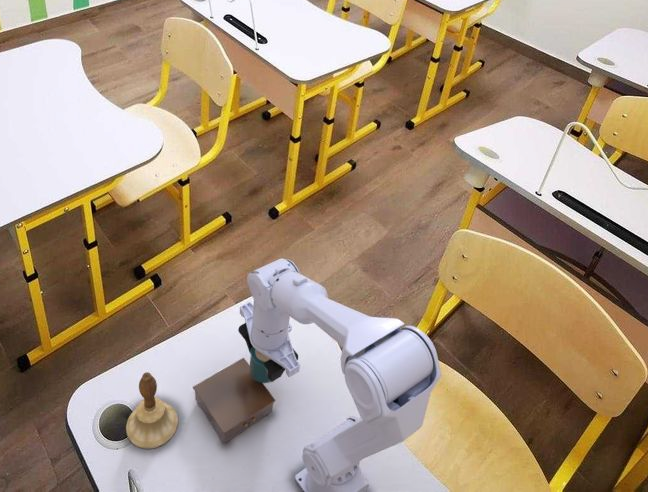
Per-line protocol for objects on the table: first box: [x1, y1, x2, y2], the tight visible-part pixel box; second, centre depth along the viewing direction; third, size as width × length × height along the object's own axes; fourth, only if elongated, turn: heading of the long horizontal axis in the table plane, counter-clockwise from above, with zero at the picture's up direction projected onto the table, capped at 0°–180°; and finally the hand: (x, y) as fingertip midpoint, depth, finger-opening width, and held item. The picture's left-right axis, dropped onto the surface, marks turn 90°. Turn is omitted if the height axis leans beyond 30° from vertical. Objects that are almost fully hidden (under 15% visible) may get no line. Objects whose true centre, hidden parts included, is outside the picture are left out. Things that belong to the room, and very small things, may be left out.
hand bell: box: [125, 371, 179, 450], centre depth 92 cm, size 8×8×16 cm
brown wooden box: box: [192, 357, 276, 444], centre depth 100 cm, size 10×10×5 cm
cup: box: [249, 346, 272, 384], centre depth 99 cm, size 5×7×6 cm
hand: (265, 364), depth 100 cm, fingers closed on cup, 5 cm apart
